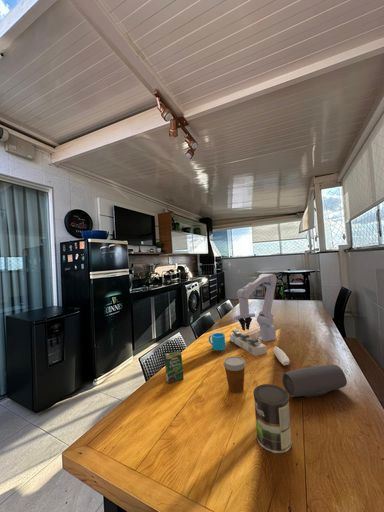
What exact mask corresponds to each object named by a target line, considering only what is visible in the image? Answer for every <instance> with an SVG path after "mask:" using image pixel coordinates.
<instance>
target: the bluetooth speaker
mask: <svg viewBox="0 0 384 512" xmlns="http://www.w3.org/2000/svg"><path fill="white" fill-rule="evenodd" d="M281 381H282V385H283V389H284V390H285V391H286V392H287V393H288V395H289V397H293V398H294V397H295V398H296V397H305V398H310V397H318V396H322V395H326V394H328V392H331V391H335V390H338V389H342V388H344V387H346V386H347V384H348V383H347V382H348V381H347V377H346V374H345V372H344V370H343V369H342V368H341V366H339V365H337V364H324V365H317V366H315V365H314V366H309V367H305V368H299V369H294V370H290V371H285V372H284V373H282V379H281Z"/></svg>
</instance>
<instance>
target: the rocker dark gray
mask: <svg viewBox="0 0 384 512" xmlns="http://www.w3.org/2000/svg"><path fill="white" fill-rule="evenodd" d="M243 334H244V335H240V338H249V337H250V335H249V334H245V333H243Z"/></svg>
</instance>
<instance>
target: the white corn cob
mask: <svg viewBox="0 0 384 512" xmlns="http://www.w3.org/2000/svg"><path fill="white" fill-rule="evenodd" d="M273 353H274V355H275V356H276V358H277V360H278V361H279V362H280V363H281V364H282V365H283V366H285V367H286V366H288V365H289V364H290V363H291V362H290V358H289V357H288V355H287V354H286V353H285V351H284V350H282V349H281V348H279V347H278V346H274V347H273Z"/></svg>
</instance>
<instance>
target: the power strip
mask: <svg viewBox="0 0 384 512" xmlns="http://www.w3.org/2000/svg"><path fill="white" fill-rule="evenodd" d="M244 334H245V333H243V332H241V335H244ZM249 339H253V338H252V337H250V336H249V338H240V335H238V336H237V335H235V334H234V333H233V332H232V333H229V341H230V340H231V341H230V342H232V343H233V342H234V343H233V344H234V345H237V346H239V347H240V348H242V349H244V350H245V351H246V352H248V353H250V355H253V356H255V357H257V356H262V355H265V354H267V353H268V352H267V345H266V344H263V343H262V342H261V341H259V342H257V343H250V342H248V340H249Z"/></svg>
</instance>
